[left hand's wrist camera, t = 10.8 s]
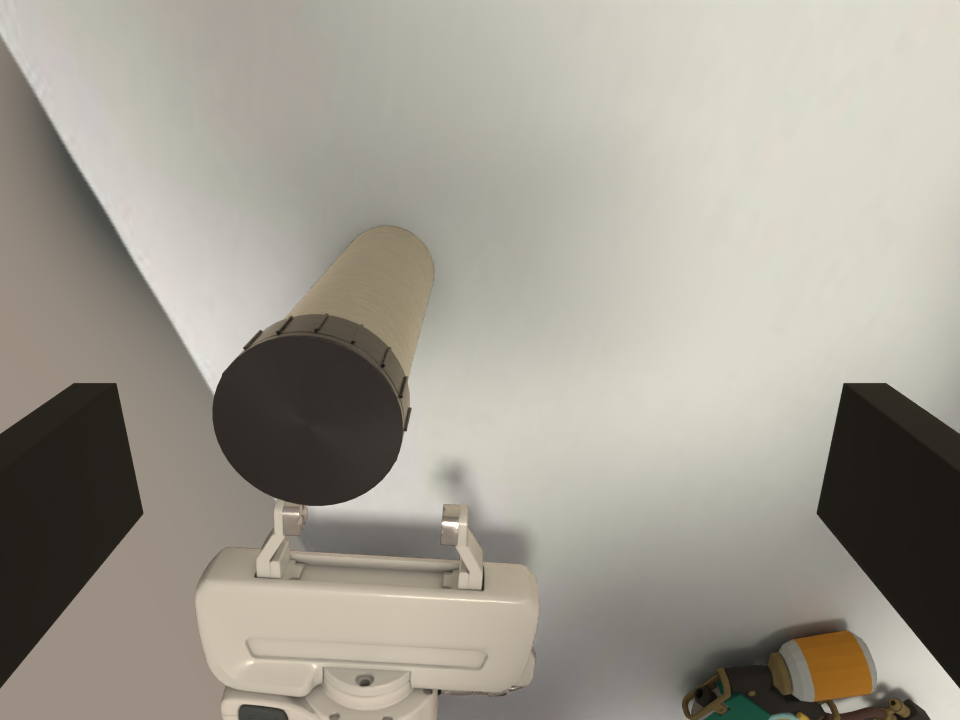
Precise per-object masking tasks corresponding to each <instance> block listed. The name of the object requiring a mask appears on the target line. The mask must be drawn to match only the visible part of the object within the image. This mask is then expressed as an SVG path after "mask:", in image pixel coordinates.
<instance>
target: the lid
mask: <svg viewBox="0 0 960 720" xmlns="http://www.w3.org/2000/svg"><path fill="white" fill-rule="evenodd" d="M363 326H364V325H362V324H361V325H359V324H357V323H355V322H352V321H350V320H347V319H344V318H340V317H336V316H331V315H329V314H328V313H325V314H307V315H299V316H294V317H293V316H292V315H290V316H289V317H288V318H287V319H284V320H282V321H279V322H277V323H275V324H273V325H271V326H270V327H268V328H266V329H265V330H264V331H263V332H262V331H261V330H260V331H259V332H258V333H257V334H256V335H255V336H254V337H253V338H252V339H251V340H250V341H249V342H248V343H247V344H246V345H245V346H244V347H243V349H244V351H243V352H242V353H241V354H240V355H239V356H238V357H237V358H236V359H235V360H234V361H233V362H232V363H231V364H230V366H229V367H228V368H227V369H226V370H225V371H224V372H223V374H222V377H221V379H220V381H219V384H218V386H217V389H216V392H215V395H214V401H213V424H214V431H215V434H216V437H217V441H218V443H219V445H220V447H221V449H222V452H223V453H224V455H225V457H226V458H227V460H228V461H229V463H230V464H231V465H232V466H233V468H234V469H235V470H236V471H237V472H238V473H239V474H240V475H241V476H242V477H243V478H244V479H245V480H246V481H248V482H249V483H250V484H252V485H253V486H254V487H256V488H257V489H259V490H261V491H262V492H264V493H266V494H268V495H270V496H272V497H274V498H277V499H280V500H283V501H286V502H290V503H294V504H299V505H308V506H325V505H334V504H338V503H342V502H346V501H349V500H352V499H354V498H357V497H359V496H361V495H362V494H364V493H366V492H368V491H369V490H371V489H372V488H373V487H375V486H376V485H377V484H378V483H379V482H380V481H381V480H383V478H384V477H385V476H386V475H387V474H388V472H389V471H390V470H391V468H392V466H393V465H394V463H395V462H396V460H397V457H398V454H399V452H400V448H401V444H402V440H403V435H404V431H407V427H408V423H409V418H410V414H411V408H410V407H409V405H410V396H409V388H408V376H405V373H404V370H403V368H402V366H401V364H400V362H399V361H398V359H397V358H396V356H395V354H394V353H393V352H392V350H391V349H392V348H391V347H390V346H389V347H388V346H387V345H386V344H385V343H384V342H383V341H382V340H381V339H380V338H379V337H378V336H377V335H375V334H374V333H372V332H371V331H369V330H368V329H366V328H365V327H363Z"/></svg>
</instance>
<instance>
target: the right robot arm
mask: <svg viewBox="0 0 960 720" xmlns="http://www.w3.org/2000/svg"><path fill="white" fill-rule="evenodd" d="M305 506H306V505H299V504H294V503H290V502H286V501H283V500H280V499H278V500H277V502H276V504H275V507H274V514H273V515H274V528H273V529H272V531H271V532H270V534H269V535H268V537H267V538H266V540H265V542H264V544H263V546H262V549H256V548H240V547H226V548H224V549H222V550H221V551H220V552H219V553H218V554H217V555H216V556H215V557H214V558H213V560H212V561H211V562H210V563H209V565H208V566H207V568H206V569H205V571H204V573H203V575H202V576H201V578H200V580H199V583H198V585H197V588H196V591H195V610H196V617H197V624H198V629H199V634H200V639H201V643H202V647H203V651H204V655H205V658H206V661H207V664H208V666H209V668H210V670H211V672H212V673H213V675H214V676H215V677H216V678H217V679H218V680H219V681H220V682H222V683H223V684H224V685H226V686H225V690H224V694H223V697H222V701H221V707H220V710H221V716H222V718H223V720H437V712H438V695H439V694H448V695H468V694H469V695H472V694H473V695H475V694H481V695H488V696H490V697H504V696H508V694H509V691H514V690H518V689H521V688H523V687H524V686H528V685H529V684H530V683H531V681H532V678H533V675H534V669H535V662H536V654H535V651H534V649H533V647H532V646H533V642H534V638H535V634H536V630H537V625H538V620H539V613H540V602H539V591H538V584H537V580H536V578H535V576H534V575H533V574H532V573H531V571H530V570H529V569H528V568H527V567H526V566H525V565H522V564H511V563H493V562H483V550H482V549H481V547H480V545H479V544H478V542H477V541H476V539H475V537H474V536H473V534H472V533H471V531H470V529H469V528H467V525H468V505H450V504H444V505H443V515H442V531H441V544H443V545H455V548H456V550H457V551H458V553H459V555H460V559H459V560H442V559H425V558H408V557H391V556H374V555H357V554H340V553H323V552H306V551H290V541H289V540H287V539H284V538H285V536H286V535H287V536H300V534H301V532H302V530H303V525H305V523H306V520H307V508H306V507H305ZM459 509H460V510H459Z"/></svg>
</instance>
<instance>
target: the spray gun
mask: <svg viewBox="0 0 960 720" xmlns="http://www.w3.org/2000/svg"><path fill="white" fill-rule="evenodd" d="M720 679H721V681H718V680H720ZM717 681H718V682H717ZM876 681H877V673H876V668H875V664H874V661H873V659H872V656H871V654H870V651H869V649H868V647H867V645H866V644H865V642H864V641H863V640H862V639H861V638H860V637H858V636H857V635H855V634H853V633H852V632H850V631H848V630H845V631H839V632H833V633H827V634H821V635H816V636H810V637H804V638H798V639H793V640H790V641H788V642H786V643H784V644H783V645H782V646H781V648H780V650H779V652H775V653H771V654H770V656H769V662H768V664H767V666H765V665H757V666H746V667H735V668H726V669H725V670H724V668H723V667H722V668H717V674H716V675H715V676H713V677H712V678H710V679H709V680H707V681H706V682H705V683H703V684H702V685H700V686H699V687H698V688H696V689H695V690H693V691H692V692H690V693H689V694H688V695H686V696H685V697H684V699H683V702H682V708H683V711H684V714H685V716H686V717H687V718H688V719H690V720H864V719H868V718H873V717H876V718H875V719H873V720H930V718H929V717H928V715H927V714H926V712H925V711H924V710H923V709H922V708H920V707H919V706H918V705H916V704H915V703H914V702H912V701H911V700H910V699H907V700H906V701H904V702H903V703H902V702H901V701H900V700H898V699H894V698H891V699H890V700H889V702H888V704H889V706H890V707H889V708H887V709H885V708H883V707H879V708H877V707H867V708H863V709H860V710H856V711H853V712H848V713H843V714H839V712H838V710H837V707H836V705H835V704H834V702H833V701H832V700H831V699H838V698H845V697H853V696H861V695H868V694H871V693H873V690H874V687H875V684H876ZM715 682H717V685H718V687H717V686H716V685H714V683H715ZM772 684H773V685H774V686H773V685H772ZM694 697H695V700H696V701H695V702H694V704H693V706H692V711H691V714H692V715H690V712H689V709H688V704H689V701H690V700H691V699H693V698H694ZM824 702H825V703H827V704H828V706H829V707H830V709H831V712H832V714H829V713H826V712H824V710H823V708H822V707H821V704H823V703H824Z"/></svg>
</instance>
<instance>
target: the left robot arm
mask: <svg viewBox="0 0 960 720" xmlns="http://www.w3.org/2000/svg"><path fill="white" fill-rule="evenodd" d="M142 515H143V509H142V504H141V499H140V495H139V490H138V485H137V480H136V476H135V471H134V466H133V461H132V456H131V451H130V447H129V442H128V437H127V432H126V427H125V423H124V418H123V413H122V408H121V403H120V399H119V394H118V389H117V384H116V383H74V384H72V385H71V386H69V387H68V388H66V389H65V390H63V391H62V392H60V393H59V394H58V395H56V396H55V397H53V398H52V399H50V400H49V401H47V402H46V403H44V404H43V405H42V406H40V407H39V408H37V409H36V410H34V411H33V412H31V413H30V414H29V415H27V416H26V417H24V418H23V419H21V420H20V421H18V422H17V423H16V424H14V425H13V426H11V427H10V428H8V429H7V430H5V431H4V432H2V433H1V434H0V688H1V687H2V686H3V684H4V683H5V682H6V681H7V680H8V678H9V677H10V676H11V675H12V673H13V672H14V671H15V670H16V668H17V667H18V666H19V665H20V664H21V662H22V661H23V660H24V659H25V658H26V656H27V655H28V654H29V653H30V651H31V650H32V649H33V648H34V647H35V645H36V644H37V643H38V642H39V640H40V639H41V638H42V637H43V636H44V634H45V633H46V632H47V631H48V629H49V628H50V627H51V626H52V625H53V623H54V622H55V621H56V620H57V619H58V617H59V616H60V615H61V614H62V612H63V611H64V610H65V609H66V608H67V606H68V605H69V604H70V603H71V601H72V600H73V599H74V598H75V597H76V595H77V594H78V593H79V592H80V590H81V589H82V588H83V587H84V586H85V584H86V583H87V582H88V581H89V579H90V578H91V577H92V576H93V575H94V573H95V572H96V571H97V570H98V568H99V567H100V566H101V565H102V564H103V562H104V561H105V560H106V559H107V557H108V556H109V555H110V554H111V553H112V551H113V550H114V549H115V548H116V546H117V545H118V544H119V543H120V542H121V540H122V539H123V538H124V537H125V535H126V534H127V533H128V532H129V531H130V529H131V528H132V527H133V526H134V524H135V523H136V522H137V521H138V520H139V518H140V517H141V516H142ZM817 515H818V516H819V517H820V518H821V520H822V521H823V522H824V523H825V525H826V526H827V527H828V528H829V529H830V531H831V532H832V533H833V534H834V536H835V537H836V538H837V539H838V540H839V542H840V543H841V544H842V545H843V546H844V548H845V549H846V550H847V551H848V553H849V554H850V555H851V556H852V557H853V559H854V560H855V561H856V562H857V564H858V565H859V566H860V567H861V568H862V570H863V571H864V572H865V573H866V575H867V576H868V577H869V578H870V579H871V581H872V582H873V583H874V584H875V586H876V587H877V588H878V589H879V590H880V592H881V593H882V594H883V595H884V597H885V598H886V599H887V600H888V601H889V603H890V604H891V605H892V606H893V608H894V609H895V610H896V611H897V612H898V614H899V615H900V616H901V617H902V619H903V620H904V621H905V622H906V623H907V625H908V626H909V627H910V628H911V629H912V631H913V632H914V633H915V634H916V636H917V637H918V638H919V639H920V640H921V642H922V643H923V644H924V645H925V647H926V648H927V649H928V650H929V651H930V653H931V654H932V655H933V656H934V658H935V659H936V660H937V661H938V662H939V664H940V665H941V666H942V667H943V669H944V670H945V671H946V672H947V673H948V675H949V676H950V677H951V678H952V680H953V681H954V682H955V683H956V684H957V686H958V687H959V688H960V434H959V433H958V432H956V431H955V430H953V429H952V428H950V427H949V426H947V425H946V424H944V423H943V422H942V421H940V420H939V419H937V418H936V417H934V416H933V415H931V414H930V413H929V412H927V411H926V410H924V409H923V408H921V407H920V406H918V405H917V404H916V403H914V402H913V401H911V400H910V399H908V398H907V397H905V396H904V395H902V394H901V393H900V392H898V391H897V390H895V389H894V388H892V387H891V386H889V385H888V384H887V383H844V384H843V389H842V394H841V399H840V403H839V408H838V413H837V418H836V423H835V427H834V432H833V437H832V442H831V447H830V451H829V456H828V461H827V466H826V471H825V475H824V480H823V485H822V490H821V495H820V499H819V504H818V509H817Z"/></svg>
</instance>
